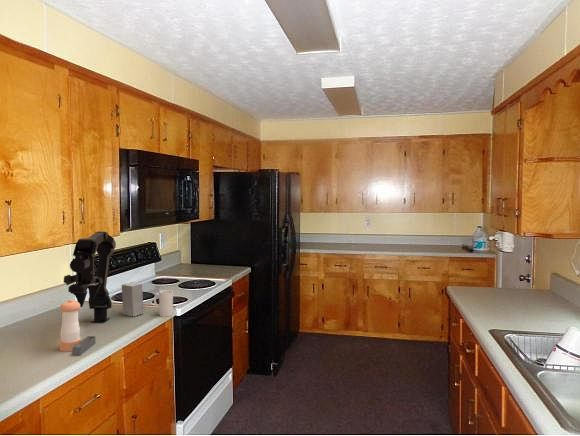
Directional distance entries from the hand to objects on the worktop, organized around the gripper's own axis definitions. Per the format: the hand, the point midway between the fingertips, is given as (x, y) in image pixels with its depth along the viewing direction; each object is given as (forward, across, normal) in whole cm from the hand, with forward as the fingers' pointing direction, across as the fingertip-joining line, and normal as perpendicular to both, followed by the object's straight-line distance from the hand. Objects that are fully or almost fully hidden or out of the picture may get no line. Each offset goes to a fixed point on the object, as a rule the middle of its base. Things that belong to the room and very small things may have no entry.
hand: (86, 304), depth 174 cm
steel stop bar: (+13, +17, +8) cm, 23 cm away
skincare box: (+13, -29, +9) cm, 33 cm away
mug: (+13, -30, +24) cm, 41 cm away
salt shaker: (+13, +16, +2) cm, 21 cm away
